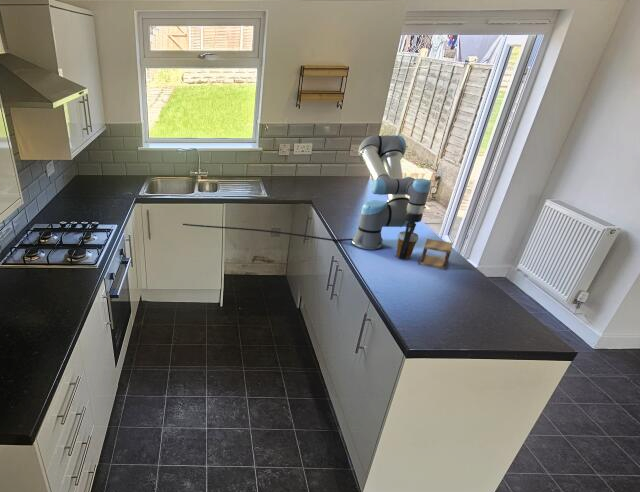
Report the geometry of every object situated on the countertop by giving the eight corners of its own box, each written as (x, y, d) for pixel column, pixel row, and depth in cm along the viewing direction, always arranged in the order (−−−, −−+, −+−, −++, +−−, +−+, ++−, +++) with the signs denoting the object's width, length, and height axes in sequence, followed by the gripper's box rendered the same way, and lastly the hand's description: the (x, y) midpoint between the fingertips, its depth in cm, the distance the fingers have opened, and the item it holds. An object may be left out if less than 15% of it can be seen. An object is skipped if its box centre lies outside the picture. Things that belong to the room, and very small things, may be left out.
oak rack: (419, 264, 213) (424, 246, 209) (422, 256, 222) (427, 238, 217) (445, 269, 208) (451, 250, 203) (447, 260, 217) (452, 242, 212)
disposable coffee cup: (401, 261, 216) (407, 238, 210) (389, 254, 224) (394, 232, 218) (417, 259, 218) (423, 236, 212) (404, 252, 226) (410, 230, 220)
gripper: (420, 219, 200) (408, 264, 212) (425, 207, 216) (414, 250, 227) (402, 217, 204) (391, 261, 215) (409, 205, 219) (398, 247, 230)
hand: (403, 255), depth 221 cm, fingers closed on disposable coffee cup, 8 cm apart
